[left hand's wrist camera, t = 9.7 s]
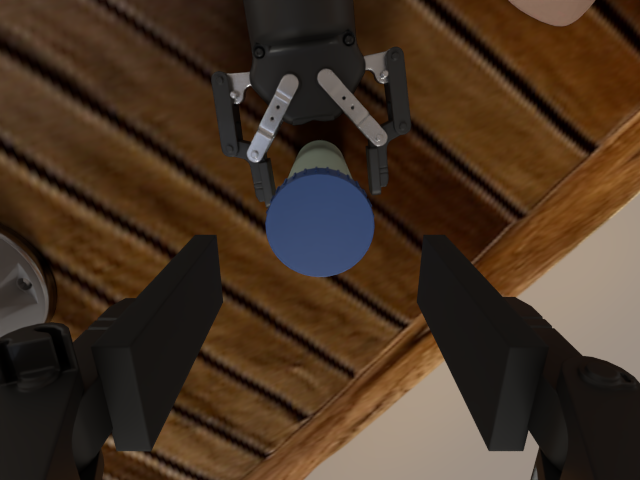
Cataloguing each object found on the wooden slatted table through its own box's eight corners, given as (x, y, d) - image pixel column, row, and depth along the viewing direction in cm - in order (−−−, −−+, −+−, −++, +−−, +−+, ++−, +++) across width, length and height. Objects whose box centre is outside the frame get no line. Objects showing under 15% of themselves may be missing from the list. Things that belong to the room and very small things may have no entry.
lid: (391, 201, 20) (398, 210, 18) (335, 281, 21) (336, 296, 20) (302, 145, 19) (301, 149, 17) (250, 232, 20) (244, 244, 19)
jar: (354, 157, 36) (386, 210, 19) (327, 198, 37) (333, 283, 20) (311, 130, 35) (304, 159, 18) (286, 173, 37) (255, 239, 19)
